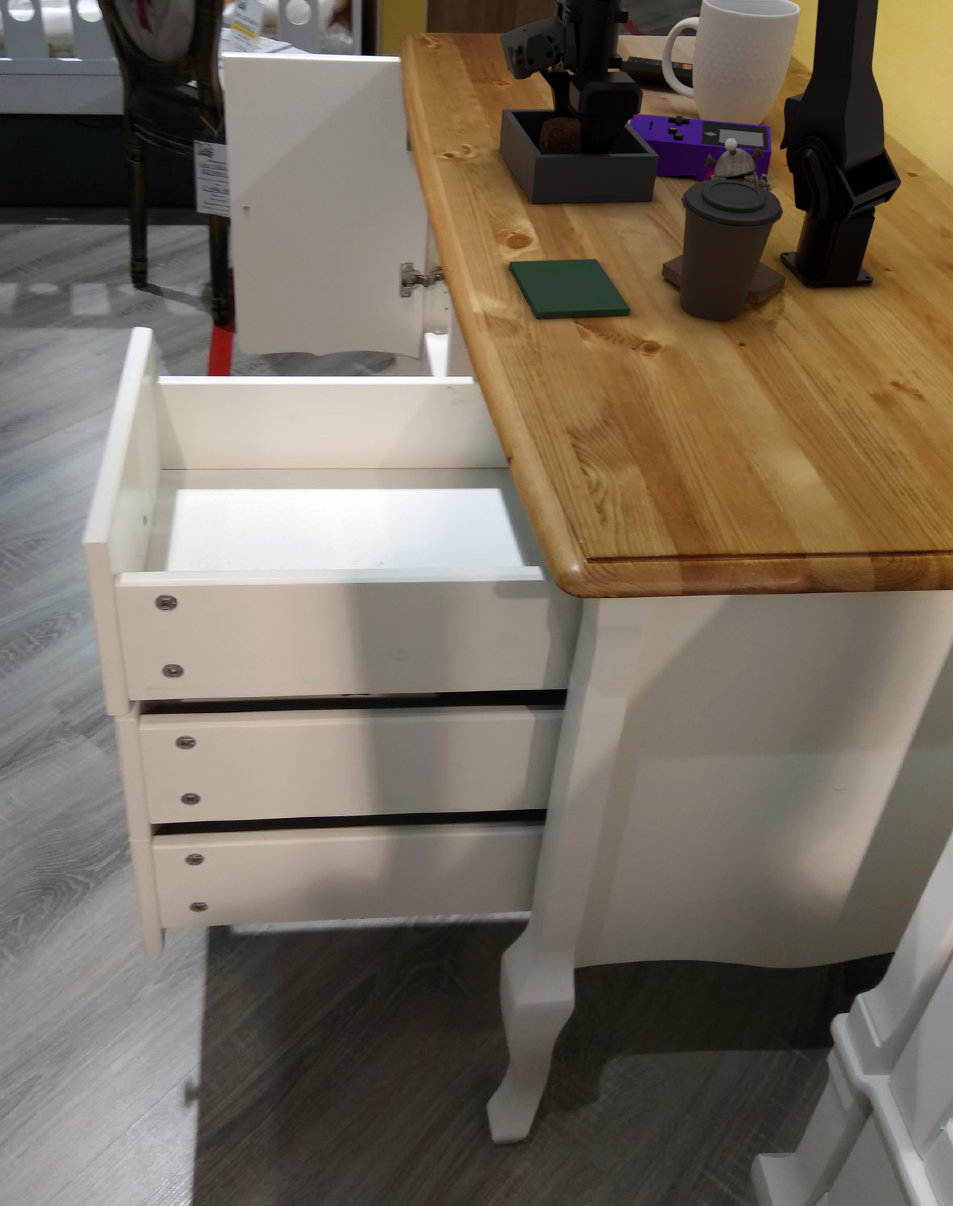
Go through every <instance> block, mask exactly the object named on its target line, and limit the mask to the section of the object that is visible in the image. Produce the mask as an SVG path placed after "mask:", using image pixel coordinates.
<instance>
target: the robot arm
mask: <svg viewBox="0 0 953 1206" xmlns="http://www.w3.org/2000/svg"><path fill="white" fill-rule="evenodd" d="M879 2H880V0H817V9H816V23H815V35H814V49H813V61H812V62H813V63H812V71H811V75H810V78H809V80H808V83H807V85H806V87H805V90H804V92H802V93H798V94H795V95H793V96H789V97H787V98H785V100H784V106H783V116H784V117H783V118H784V131H783V138H782V140H781V143H780V144H779V150H781V151H782V150H785V149H786V151H785V159H786V160H785V161H786V166H787V169H788V172H789V173H790V174H792V181H793V182H792V183H793V191H794V192H793V193H794V195H793V197H794V205H795V208H796V209H797V210H800V211H802V212H805V214H804V218H803V221H802V226H801V230H800V235H799V239H798V242H797V246H796V251H782V252H780V256H779V259H780V260H781V261H782V262H783V263H784V264H785V265H786V266H787V267H788V268H789V269H790V270H791V272H793V274H794V275H796V277H798V278H799V280H800V281H801V282H802V283H803V284H804V285H806V286H807V287H833V286H834V287H838V286H865V285H866V286H867V285H872V284H873V281H874V277H873V276H872V275H871V274H870V273H868V271H866V270H865V269H864V268H863V267H862V266H863V263H864V258H865V255H866V252H867V250H868V249H867V248H868V245H869V241H870V238H871V235H872V231H873V227H874V223H875V221H876V216H875V214H876V212H877V211H876V207H877V206H879V205H881V204H886V203H888V202H890V201H891V199H892V198H893V197H894V195H895V193H896V192H897V191H898V189H899V188H900V186H901V184H902V180H901V178H900V176H899V173H898V172H897V169H896V167H895V165H894V163H893V161H892V159H891V157H890V155H889V153H888V151H887V149H886V146H885V119H884V102H883V99H882V96H881V94H880V90H879V87H878V84H877V80H876V77H875V76H874V71H873V59H874V50H875V41H876V31H877V22H878V21H877V20H878V12H879V11H878V10H879ZM629 14H630V13H629V10H628V9H626V8H625V7H624V0H556V2H554V3H553V12H552V16H550V17H546V18H544V19H539V20H536V21H535V20H534V21H533V22H530V23H527V24H525V25H522V26H520V27H517V28H515V29H512V30H509V31H507V32H504V33H502V35H500V37H499V41H500V45H501V48H502V51H503V56H504V59H505V64H506V67H507V70H508V71H509V72H510V73H511V74H512V76H513V79H515V80H517V81H520V80H521V81H522V80H526V79H528V78H531V77H532V75H533V74H535V73H539V74H540V75H541V77H542V78H543V79H544V81H546V83H547V84H548V85H549V87H550V91H551V97H552V106H553V109H554V113H555V118H559V117H564V118H573V119H575V120H576V119H578V120H579V122H580V133H581V154H606V153H607V152H608V150H609V149H610V147H611V145H612V144H613V142H614V141H615V139H616V138H617V136H618V135H619V133H620V132H621V130H622V129H623V128H624V126H625V125H626V123H627V122H628V123H629V121H631V119H633V117H634V115H637V114H641V111H642V104H643V97H644V91H643V90H642V88H641V87H640V86H639V85H638V83H637V82H636V80H635V79H632V78H631V77H630V76H629V75H628V74H626V73H625V72H620V71H609V70H620V69H621V66H622V61H623V56H621V54H619V53H618V47H619V46H618V45H619V38H620V30H621V24H628V20H629Z"/></svg>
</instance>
